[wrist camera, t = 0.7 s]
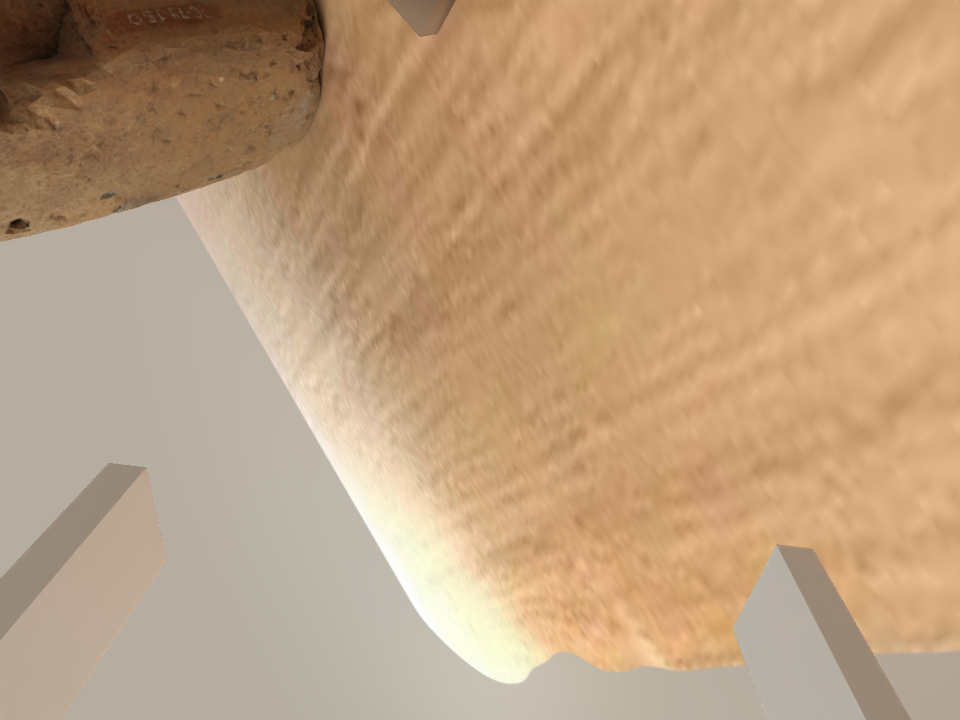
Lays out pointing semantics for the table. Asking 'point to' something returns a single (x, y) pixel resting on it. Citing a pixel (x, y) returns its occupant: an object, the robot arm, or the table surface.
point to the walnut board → (423, 14)
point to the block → (145, 100)
